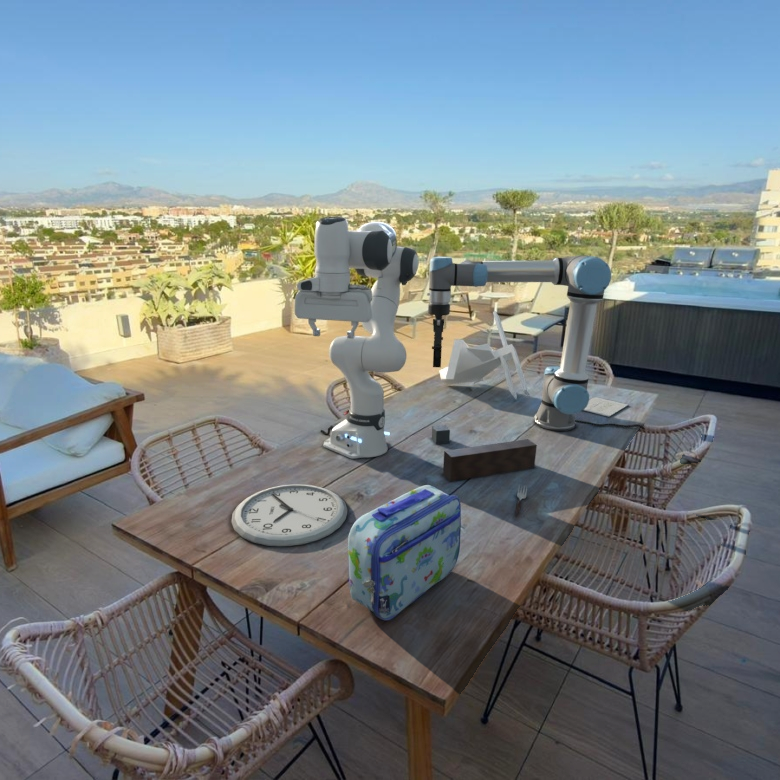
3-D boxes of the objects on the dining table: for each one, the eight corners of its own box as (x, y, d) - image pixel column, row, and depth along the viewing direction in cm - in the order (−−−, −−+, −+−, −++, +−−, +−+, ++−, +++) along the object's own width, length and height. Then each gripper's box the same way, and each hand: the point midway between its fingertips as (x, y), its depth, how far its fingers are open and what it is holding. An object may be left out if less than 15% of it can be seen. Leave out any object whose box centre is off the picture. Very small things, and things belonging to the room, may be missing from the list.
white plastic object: (461, 429, 252) (437, 405, 227) (444, 352, 274) (420, 323, 250) (535, 404, 240) (518, 377, 215) (510, 326, 262) (492, 293, 237)
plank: (525, 461, 172) (527, 439, 169) (534, 467, 167) (536, 444, 165) (442, 474, 162) (444, 450, 159) (450, 481, 157) (451, 457, 155)
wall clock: (347, 538, 125) (219, 542, 122) (347, 544, 125) (219, 548, 123) (347, 480, 153) (242, 482, 151) (347, 485, 154) (243, 487, 151)
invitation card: (608, 416, 214) (573, 407, 224) (608, 416, 214) (573, 408, 224) (628, 404, 229) (594, 396, 238) (628, 405, 229) (594, 397, 238)
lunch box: (378, 635, 98) (379, 537, 91) (341, 606, 105) (340, 513, 99) (464, 574, 115) (470, 488, 109) (427, 553, 122) (431, 471, 116)
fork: (510, 517, 138) (511, 510, 137) (518, 490, 152) (518, 484, 152) (520, 519, 137) (521, 512, 137) (527, 491, 152) (528, 485, 151)
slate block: (444, 437, 190) (445, 425, 189) (449, 443, 185) (450, 430, 184) (431, 438, 189) (432, 425, 187) (435, 444, 184) (436, 431, 183)
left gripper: (375, 284, 134) (374, 337, 138) (300, 280, 138) (302, 332, 142) (368, 286, 128) (368, 342, 132) (290, 283, 132) (293, 337, 136)
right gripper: (429, 298, 193) (427, 353, 200) (427, 307, 170) (425, 370, 176) (449, 298, 193) (446, 354, 199) (451, 308, 169) (448, 371, 175)
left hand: (333, 337), depth 137 cm, fingers open, 8 cm apart
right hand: (436, 362), depth 188 cm, fingers open, 13 cm apart
